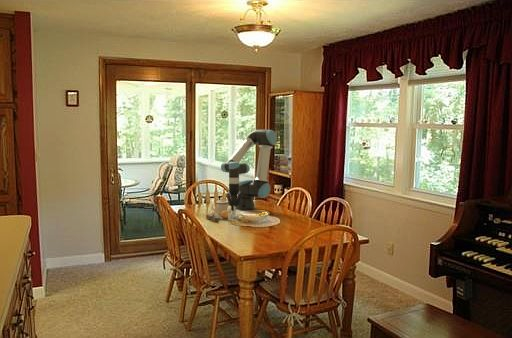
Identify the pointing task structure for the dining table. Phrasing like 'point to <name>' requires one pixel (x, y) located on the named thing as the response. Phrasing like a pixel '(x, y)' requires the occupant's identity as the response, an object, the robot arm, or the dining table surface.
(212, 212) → the pin
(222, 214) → the ball
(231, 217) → the lane mark
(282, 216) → the dining table surface
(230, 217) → the pin
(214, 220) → the back wall
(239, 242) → the dining table surface
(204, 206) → the dining table surface
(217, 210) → the teacup with lid
